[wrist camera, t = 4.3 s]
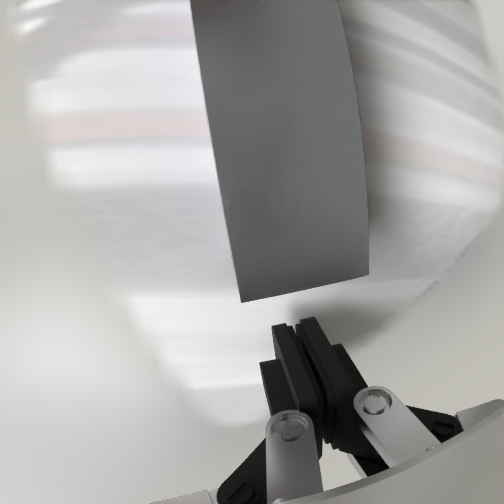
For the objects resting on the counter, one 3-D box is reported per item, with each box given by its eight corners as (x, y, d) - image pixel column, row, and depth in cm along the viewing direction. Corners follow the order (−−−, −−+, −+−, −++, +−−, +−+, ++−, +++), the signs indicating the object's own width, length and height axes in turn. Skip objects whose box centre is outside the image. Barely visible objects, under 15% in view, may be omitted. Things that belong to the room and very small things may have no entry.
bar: (179, -73, 6) (174, -131, 3) (264, -79, 7) (285, -134, 3) (230, 249, 11) (241, 302, 8) (320, 232, 12) (369, 274, 8)
